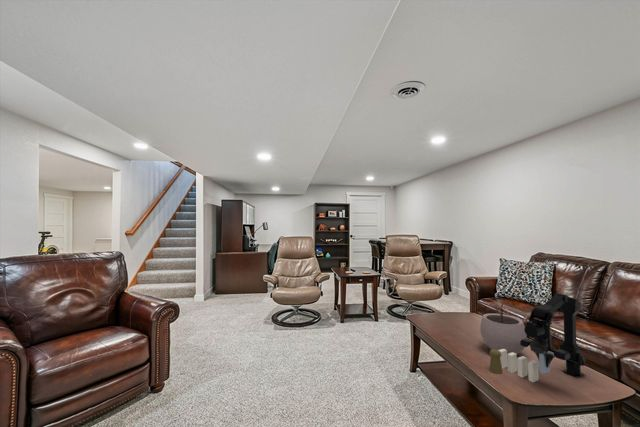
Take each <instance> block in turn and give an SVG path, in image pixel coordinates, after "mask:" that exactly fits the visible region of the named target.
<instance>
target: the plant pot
mask: <svg viewBox="0 0 640 427" xmlns="http://www.w3.org/2000/svg"><path fill="white" fill-rule="evenodd" d="M503 305H504V303H501V305H500V306H501V307H499V306H497V305H496V306H495V307H496V308H499V309H500V312H499V310H497V309H494V311H495V312H497V313H485V314H483V315H482V317H481V321H480V326H479V327H480V329H479V331H480V334H481V338H482V341H483V342H484V344H485V345H486V346H487V347H488V348H489V349H490V350H491V349H496V350H501V349H505V350H507V354H509V353H512V352H513V353H516V354H517V355H518V354H520V353H522V352H523V351H524V350H525V348H526V347H524V346H521V345H520V341H521V340H522V339H525V338H527V337H528V335H527V334H526V333H525V330H524V328H525V323H524V321H523V320H522V319H520V318H518V317H515V316H512V315H510V314H509V315H507V314H503V312H504V308H506V306H504V308H503ZM527 339H528V338H527Z"/></svg>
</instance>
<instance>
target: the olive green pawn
mask: <svg viewBox="0 0 640 427" xmlns="http://www.w3.org/2000/svg"><path fill="white" fill-rule="evenodd" d="M489 354H490V361H489V368H488V369H489V371H490V372H491V373H493V374H498V375H502V374H503V369H502V366H501V360H500V357H501V352H500V351H498V350H496V349H490V351H489Z"/></svg>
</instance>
